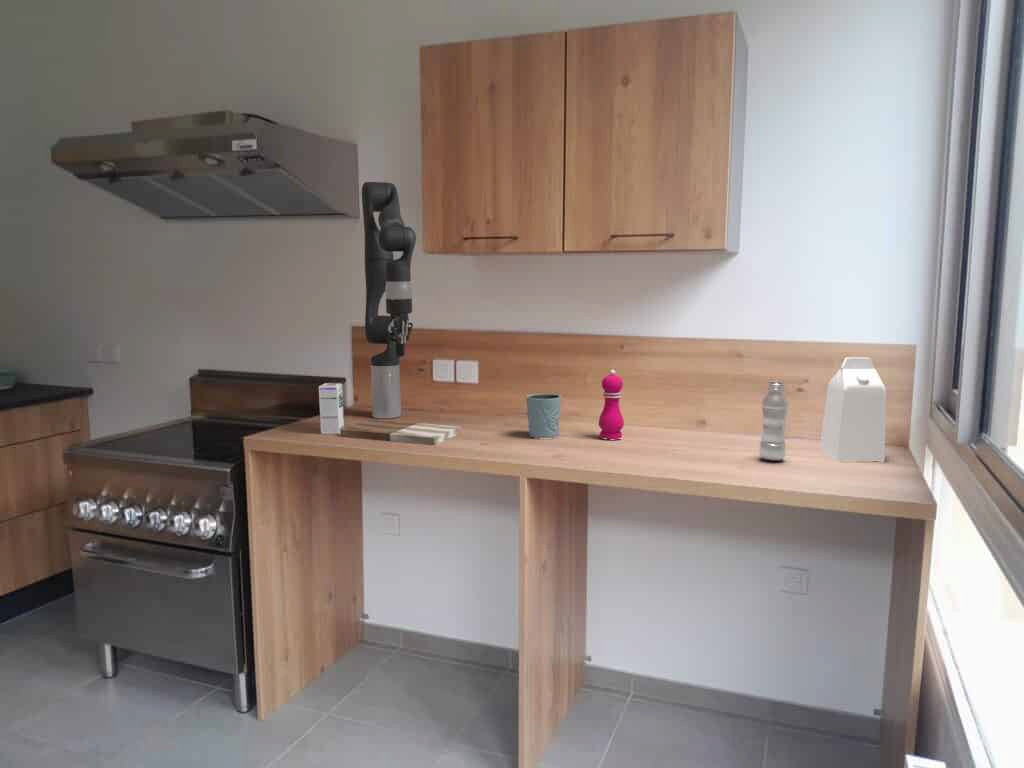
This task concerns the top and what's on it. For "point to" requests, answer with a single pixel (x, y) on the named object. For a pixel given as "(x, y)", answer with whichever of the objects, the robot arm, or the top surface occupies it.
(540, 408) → the blue planter pot
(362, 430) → the planks
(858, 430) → the milk
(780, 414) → the plastic bottle
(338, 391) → the syrup box
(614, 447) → the top surface
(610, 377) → the pepper mill
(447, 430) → the beige flat block
